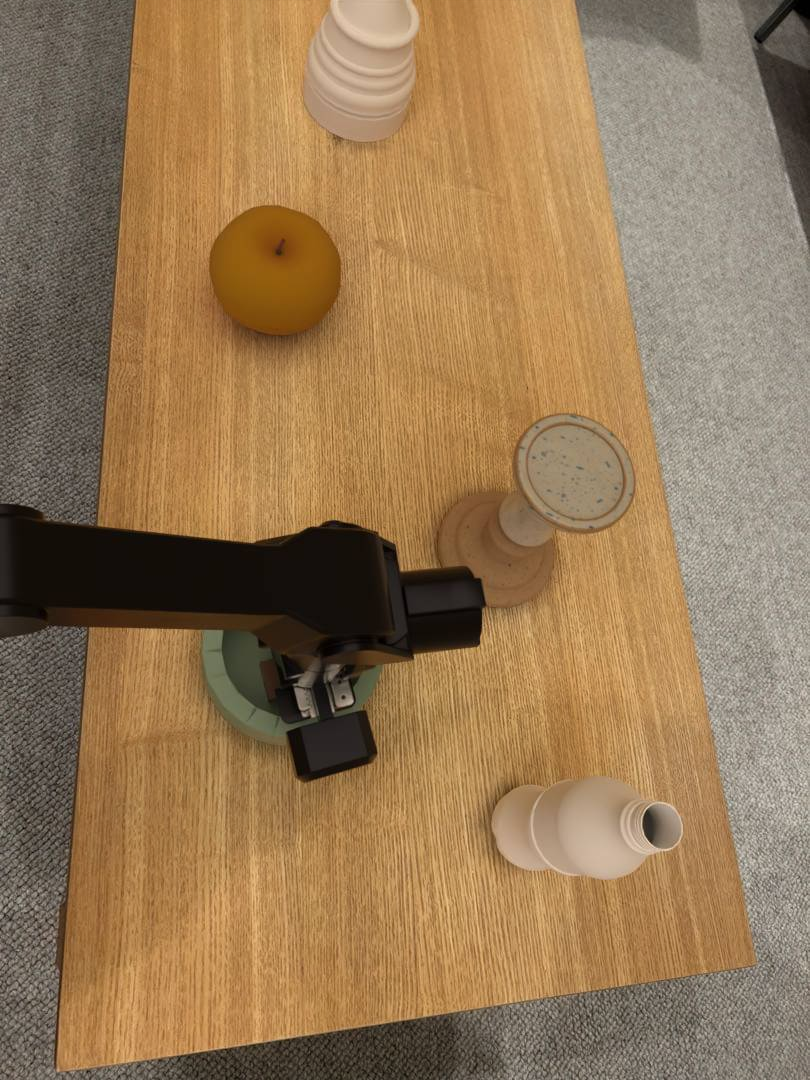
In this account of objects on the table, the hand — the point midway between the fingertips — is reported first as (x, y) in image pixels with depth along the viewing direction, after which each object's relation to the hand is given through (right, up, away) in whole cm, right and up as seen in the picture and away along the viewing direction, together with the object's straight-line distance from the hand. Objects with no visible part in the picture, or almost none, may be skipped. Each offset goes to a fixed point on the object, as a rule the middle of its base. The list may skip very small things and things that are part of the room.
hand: (297, 671), depth 70 cm
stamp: (0, -1, +3) cm, 3 cm away
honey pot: (+3, +65, +29) cm, 71 cm away
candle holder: (+18, +10, +13) cm, 25 cm away
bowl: (-1, 0, +4) cm, 4 cm away
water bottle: (+20, -15, +4) cm, 25 cm away
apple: (-5, +36, +16) cm, 40 cm away
